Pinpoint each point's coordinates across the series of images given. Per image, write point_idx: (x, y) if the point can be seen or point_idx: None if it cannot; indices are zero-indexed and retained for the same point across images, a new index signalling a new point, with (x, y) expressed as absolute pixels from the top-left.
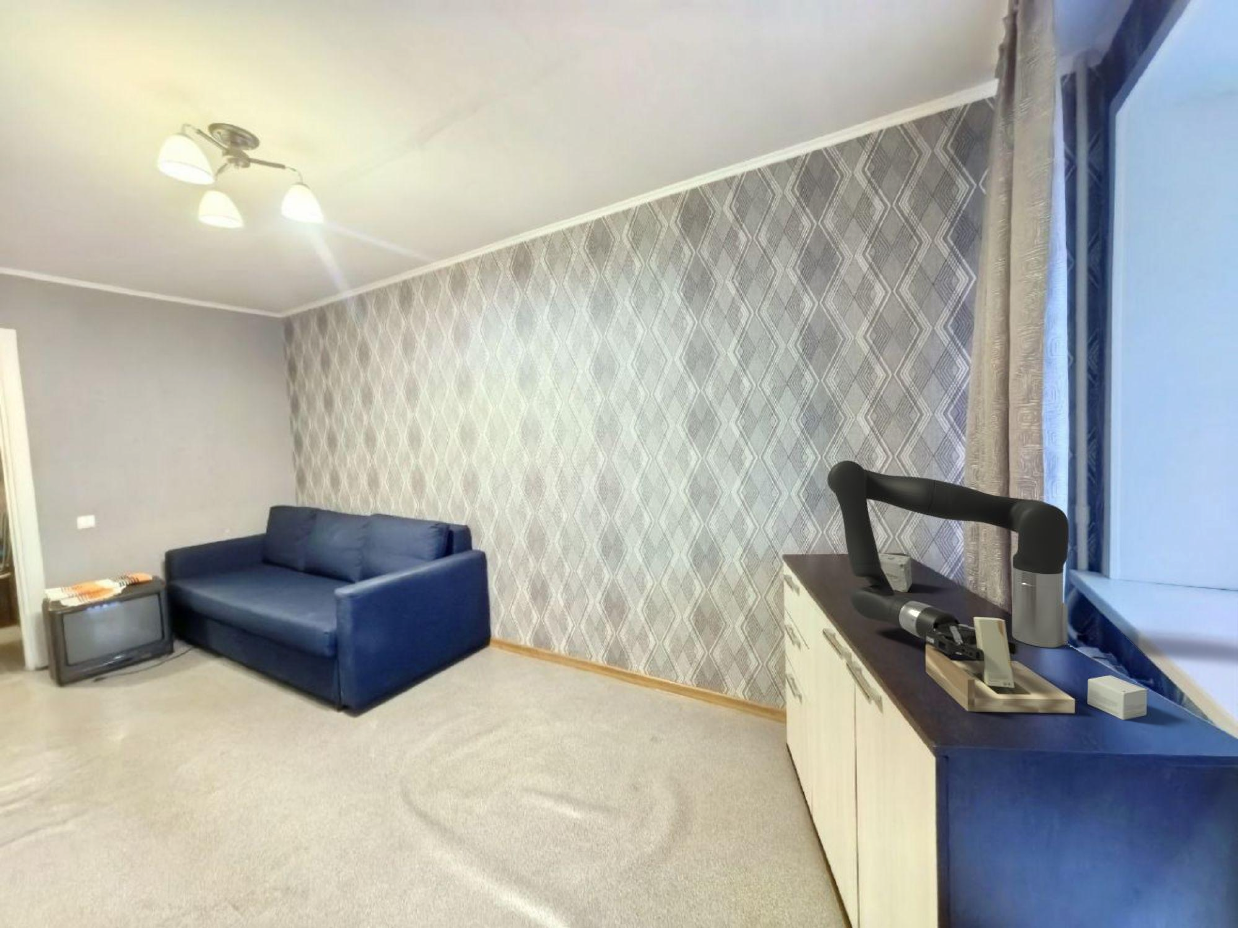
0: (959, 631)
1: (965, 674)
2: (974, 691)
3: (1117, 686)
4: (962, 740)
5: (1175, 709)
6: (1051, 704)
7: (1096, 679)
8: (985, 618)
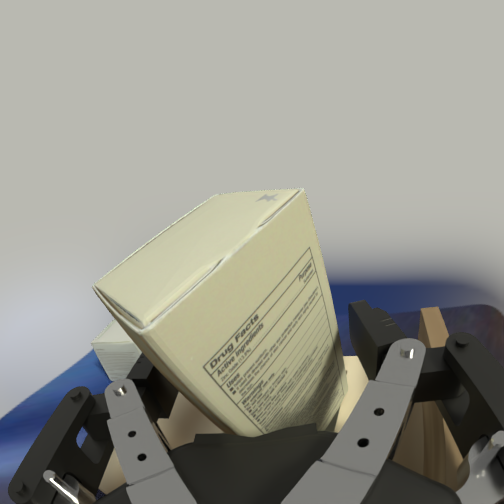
0: (260, 502)
1: (433, 324)
2: (418, 338)
3: None
4: (465, 311)
5: (91, 351)
6: None
7: (127, 337)
8: (234, 212)
